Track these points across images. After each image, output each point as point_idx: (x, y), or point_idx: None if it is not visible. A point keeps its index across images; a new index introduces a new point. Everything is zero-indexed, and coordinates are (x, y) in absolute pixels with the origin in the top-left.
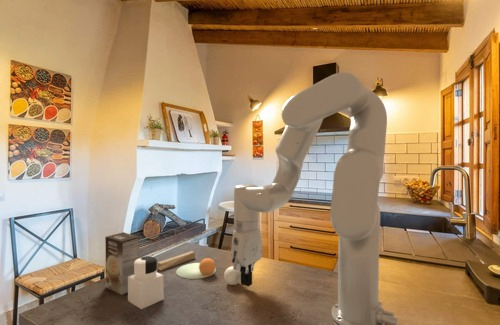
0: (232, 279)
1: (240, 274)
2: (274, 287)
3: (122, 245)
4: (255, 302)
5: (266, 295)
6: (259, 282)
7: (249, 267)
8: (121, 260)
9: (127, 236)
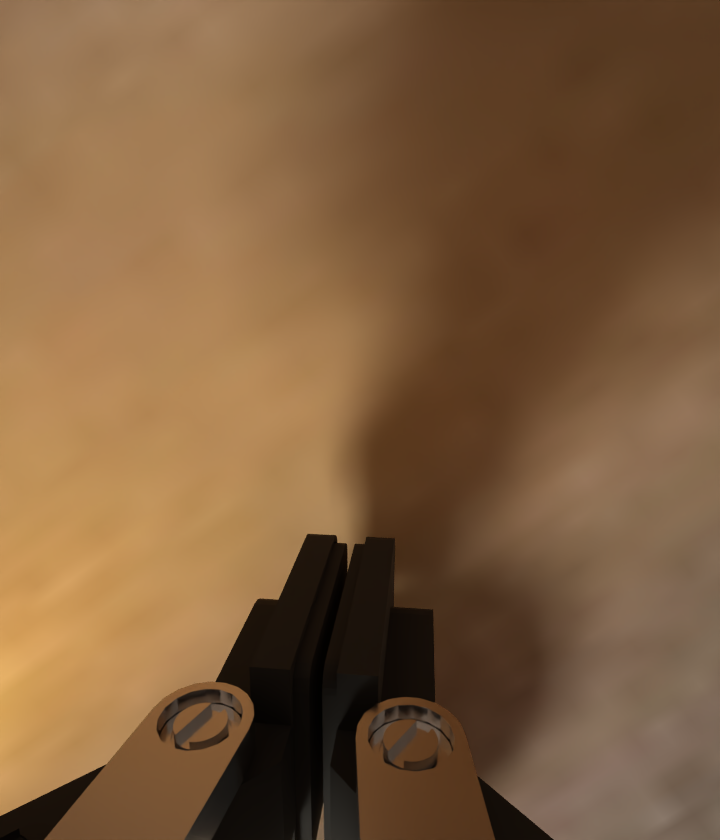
0: None
1: None
2: (44, 272)
3: None
4: (619, 225)
5: (328, 219)
6: (79, 537)
7: (215, 820)
8: None
9: None
